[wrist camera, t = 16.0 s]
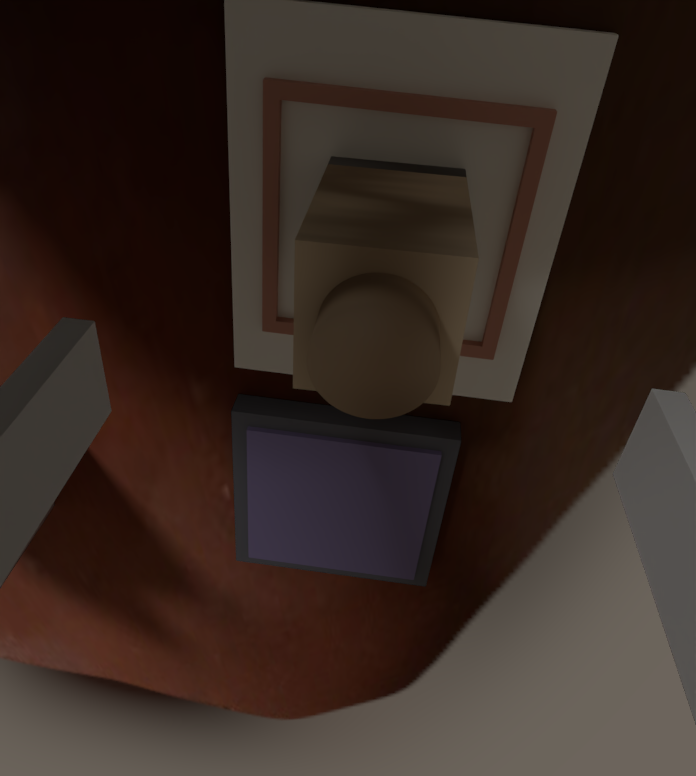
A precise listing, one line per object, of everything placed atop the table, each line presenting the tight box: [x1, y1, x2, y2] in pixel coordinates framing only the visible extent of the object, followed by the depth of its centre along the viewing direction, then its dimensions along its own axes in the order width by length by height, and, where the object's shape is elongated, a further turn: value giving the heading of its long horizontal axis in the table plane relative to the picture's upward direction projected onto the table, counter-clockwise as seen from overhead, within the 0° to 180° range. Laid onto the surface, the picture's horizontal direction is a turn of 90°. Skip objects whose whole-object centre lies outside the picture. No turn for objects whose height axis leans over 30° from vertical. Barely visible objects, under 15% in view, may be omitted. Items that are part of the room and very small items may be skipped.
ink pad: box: [231, 394, 461, 587], centre depth 34 cm, size 11×11×2 cm
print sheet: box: [224, 0, 619, 402], centre depth 25 cm, size 13×15×1 cm
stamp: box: [293, 156, 479, 419], centre depth 21 cm, size 5×5×10 cm
